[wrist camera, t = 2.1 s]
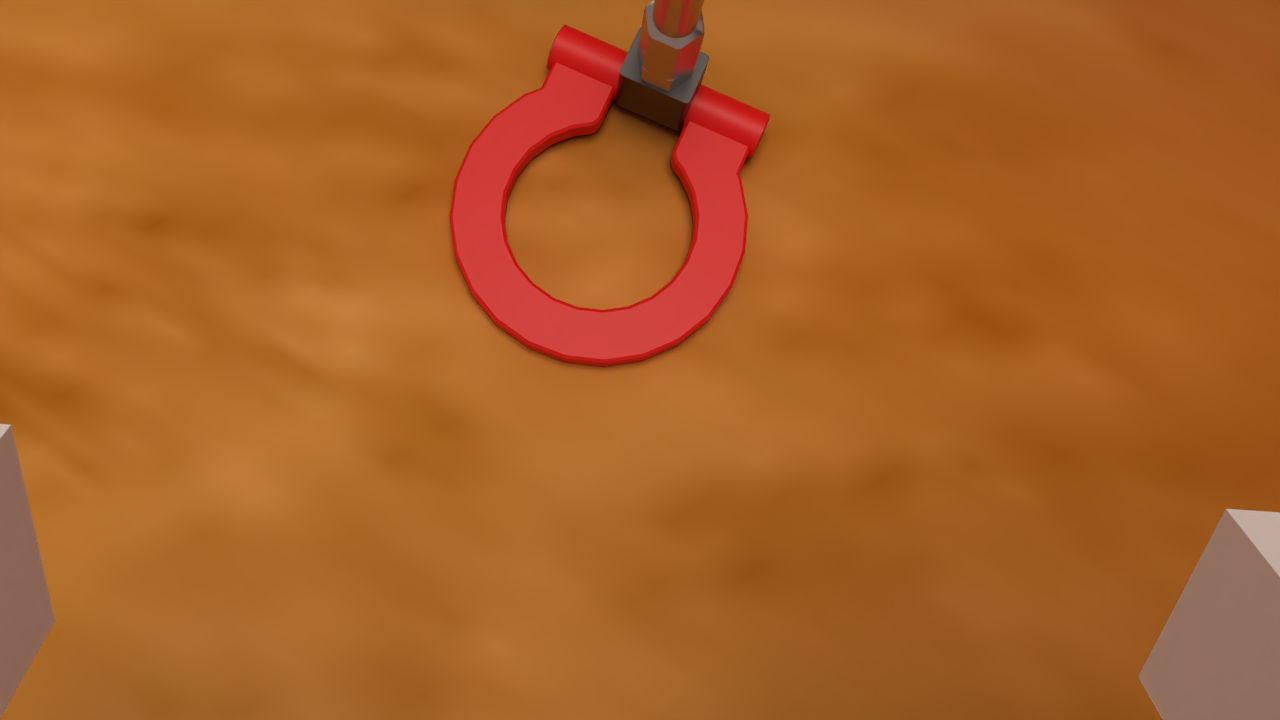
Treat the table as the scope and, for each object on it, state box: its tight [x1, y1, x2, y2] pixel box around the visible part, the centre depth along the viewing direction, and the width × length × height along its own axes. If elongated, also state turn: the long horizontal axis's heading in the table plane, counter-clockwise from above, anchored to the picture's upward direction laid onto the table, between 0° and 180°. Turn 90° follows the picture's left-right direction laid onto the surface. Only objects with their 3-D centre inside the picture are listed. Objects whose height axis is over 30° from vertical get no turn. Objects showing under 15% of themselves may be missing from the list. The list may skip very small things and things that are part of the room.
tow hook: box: [450, 0, 770, 367], centre depth 25 cm, size 8×13×9 cm
